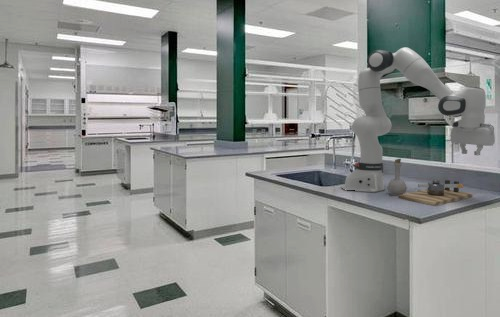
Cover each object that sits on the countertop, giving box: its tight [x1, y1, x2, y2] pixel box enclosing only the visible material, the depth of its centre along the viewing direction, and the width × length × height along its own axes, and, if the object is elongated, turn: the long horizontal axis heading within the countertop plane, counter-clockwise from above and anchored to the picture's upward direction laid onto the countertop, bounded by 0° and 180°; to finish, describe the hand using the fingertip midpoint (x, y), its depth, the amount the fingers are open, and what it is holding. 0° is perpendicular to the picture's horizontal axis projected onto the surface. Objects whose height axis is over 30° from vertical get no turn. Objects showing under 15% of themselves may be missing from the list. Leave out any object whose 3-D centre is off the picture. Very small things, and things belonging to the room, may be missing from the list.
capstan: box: [417, 179, 464, 195], centre depth 168 cm, size 20×7×6 cm, turn 87°
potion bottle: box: [387, 158, 408, 197], centre depth 175 cm, size 9×9×18 cm
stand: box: [397, 179, 473, 207], centre depth 168 cm, size 31×18×6 cm, turn 122°
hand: (470, 154), depth 159 cm, fingers open, 5 cm apart
